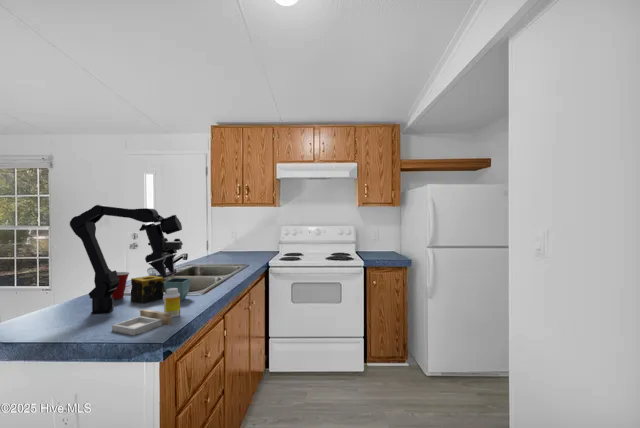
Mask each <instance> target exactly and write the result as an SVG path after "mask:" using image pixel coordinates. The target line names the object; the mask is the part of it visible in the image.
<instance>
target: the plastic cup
mask: <svg viewBox="0 0 640 428" xmlns="http://www.w3.org/2000/svg"><path fill="white" fill-rule="evenodd" d="M116 272H117V276H118V277H119V278H120V280H119V285H118V287H117V288H116V289H115V291H114V293H112V298H114V301H115V300H121V299H123V298H124V295H125V290H126V286H127V281H128V277H129V275H130V272H126V271H116Z"/></svg>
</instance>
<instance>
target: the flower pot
mask: <svg viewBox="0 0 640 428" xmlns="http://www.w3.org/2000/svg"><path fill="white" fill-rule="evenodd" d="M191 280H192V278H189V277H188V278H187V277H186V278H179V277H178V278H177V277H174V278H170V279H168V280H164V285H163V290H164V293H165V294H166V291H167V289H169V288H178V293H179V294H180V302H181V301H183V300H184V299H186V297H187V296H188V294H189V292H190V287H191ZM165 294H164V295H165Z"/></svg>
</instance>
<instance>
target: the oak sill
mask: <svg viewBox="0 0 640 428" xmlns="http://www.w3.org/2000/svg"><path fill="white" fill-rule="evenodd" d="M139 316H143V317H149V318H155V319H161V325H171V324H172V323H173V317H172V313H165V312H164V311H158V310H153V309H140V310H139Z"/></svg>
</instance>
